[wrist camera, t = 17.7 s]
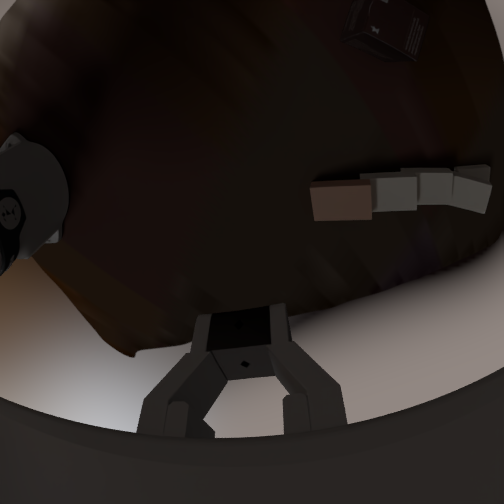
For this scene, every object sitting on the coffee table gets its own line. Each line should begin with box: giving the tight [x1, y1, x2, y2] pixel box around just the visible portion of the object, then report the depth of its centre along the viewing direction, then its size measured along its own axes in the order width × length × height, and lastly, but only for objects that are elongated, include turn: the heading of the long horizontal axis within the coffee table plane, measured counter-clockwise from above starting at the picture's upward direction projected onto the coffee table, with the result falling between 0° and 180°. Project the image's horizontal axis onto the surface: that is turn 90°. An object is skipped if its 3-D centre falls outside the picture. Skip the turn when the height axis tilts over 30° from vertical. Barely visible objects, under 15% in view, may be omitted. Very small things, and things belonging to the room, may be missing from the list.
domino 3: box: [400, 168, 453, 205], centre depth 30 cm, size 2×4×7 cm
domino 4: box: [454, 164, 490, 181], centre depth 31 cm, size 2×4×7 cm
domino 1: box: [310, 179, 372, 221], centre depth 32 cm, size 2×4×7 cm
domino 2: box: [360, 171, 417, 212], centre depth 31 cm, size 2×4×7 cm
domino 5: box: [447, 171, 492, 214], centre depth 30 cm, size 2×4×7 cm
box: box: [340, 0, 429, 62], centre depth 19 cm, size 6×6×7 cm
